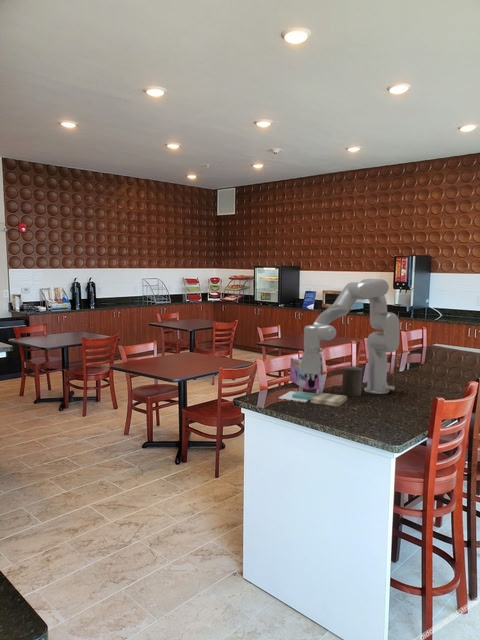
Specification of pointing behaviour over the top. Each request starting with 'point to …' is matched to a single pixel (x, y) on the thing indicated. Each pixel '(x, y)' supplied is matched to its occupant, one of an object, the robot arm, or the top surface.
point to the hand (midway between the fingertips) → (311, 387)
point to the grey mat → (289, 397)
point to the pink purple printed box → (297, 377)
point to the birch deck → (328, 399)
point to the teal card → (303, 395)
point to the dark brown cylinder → (351, 381)
